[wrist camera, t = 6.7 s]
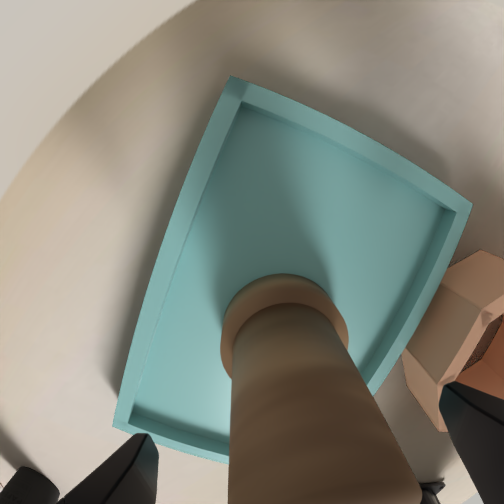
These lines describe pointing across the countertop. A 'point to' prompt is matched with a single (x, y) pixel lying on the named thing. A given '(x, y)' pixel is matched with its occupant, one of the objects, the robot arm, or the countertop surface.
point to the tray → (281, 255)
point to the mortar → (458, 334)
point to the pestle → (303, 404)
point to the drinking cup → (29, 489)
